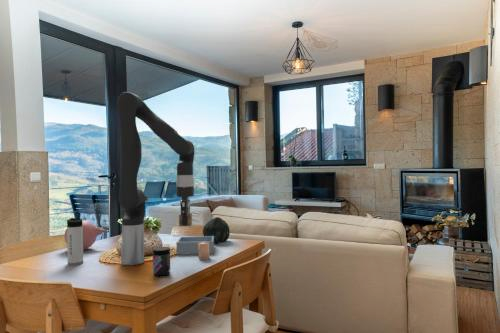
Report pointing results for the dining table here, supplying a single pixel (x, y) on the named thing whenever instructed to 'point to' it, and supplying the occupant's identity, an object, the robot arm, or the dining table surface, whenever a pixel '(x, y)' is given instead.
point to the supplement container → (161, 261)
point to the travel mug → (74, 241)
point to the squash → (217, 230)
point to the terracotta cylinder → (203, 250)
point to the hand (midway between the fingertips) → (185, 224)
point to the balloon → (88, 234)
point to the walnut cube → (189, 220)
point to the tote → (193, 244)
